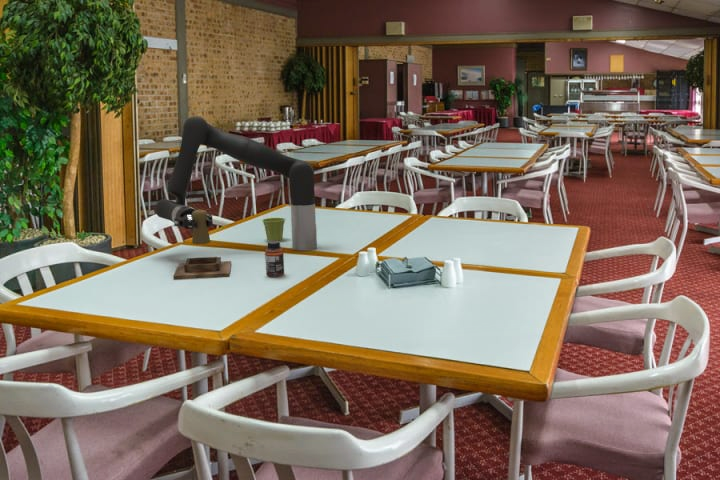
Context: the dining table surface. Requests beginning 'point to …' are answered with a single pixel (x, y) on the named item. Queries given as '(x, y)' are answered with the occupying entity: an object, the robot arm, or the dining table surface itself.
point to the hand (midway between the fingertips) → (203, 224)
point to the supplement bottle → (274, 259)
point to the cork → (200, 227)
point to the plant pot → (274, 228)
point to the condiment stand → (203, 268)
